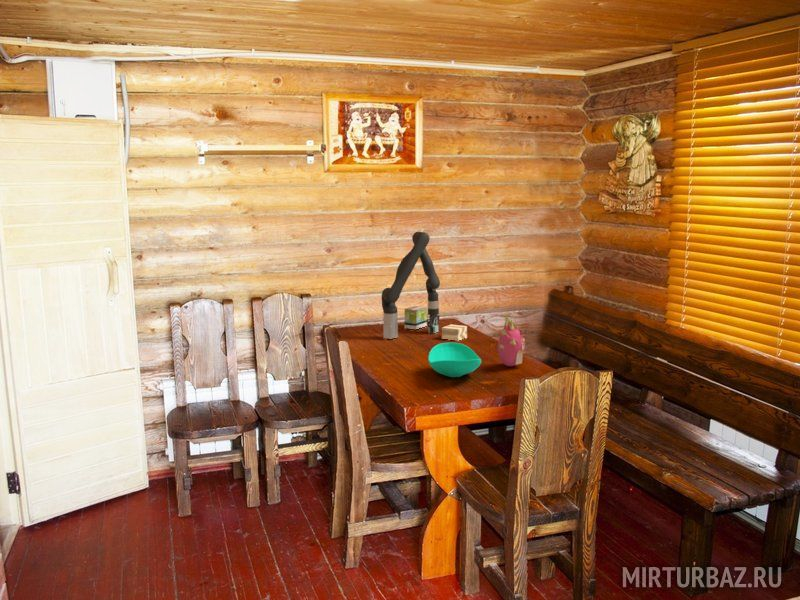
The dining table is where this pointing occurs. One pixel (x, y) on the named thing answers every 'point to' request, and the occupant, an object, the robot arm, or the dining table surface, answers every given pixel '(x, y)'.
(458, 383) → the dining table surface
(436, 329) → the teal cube
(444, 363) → the table top decor
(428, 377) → the dining table surface
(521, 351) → the pink dragon fruit
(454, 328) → the birch block
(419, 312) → the tea box
